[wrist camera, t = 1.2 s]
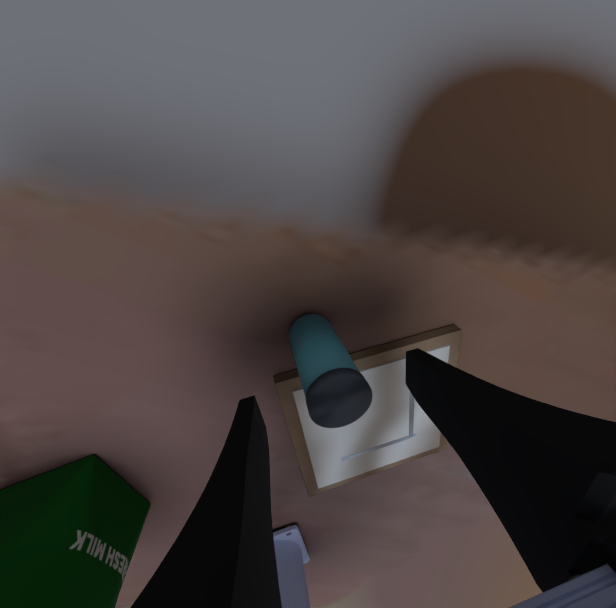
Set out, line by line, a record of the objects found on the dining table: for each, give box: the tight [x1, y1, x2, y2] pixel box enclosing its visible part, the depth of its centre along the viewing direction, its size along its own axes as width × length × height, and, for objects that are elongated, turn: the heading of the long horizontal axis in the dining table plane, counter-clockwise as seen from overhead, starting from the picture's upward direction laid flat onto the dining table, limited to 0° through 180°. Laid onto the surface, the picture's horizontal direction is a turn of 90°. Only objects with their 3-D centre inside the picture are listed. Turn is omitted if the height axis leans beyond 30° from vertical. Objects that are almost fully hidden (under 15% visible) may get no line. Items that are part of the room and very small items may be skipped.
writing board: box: [274, 325, 462, 497], centre depth 21 cm, size 14×14×1 cm
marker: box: [289, 313, 373, 428], centre depth 14 cm, size 3×3×6 cm
